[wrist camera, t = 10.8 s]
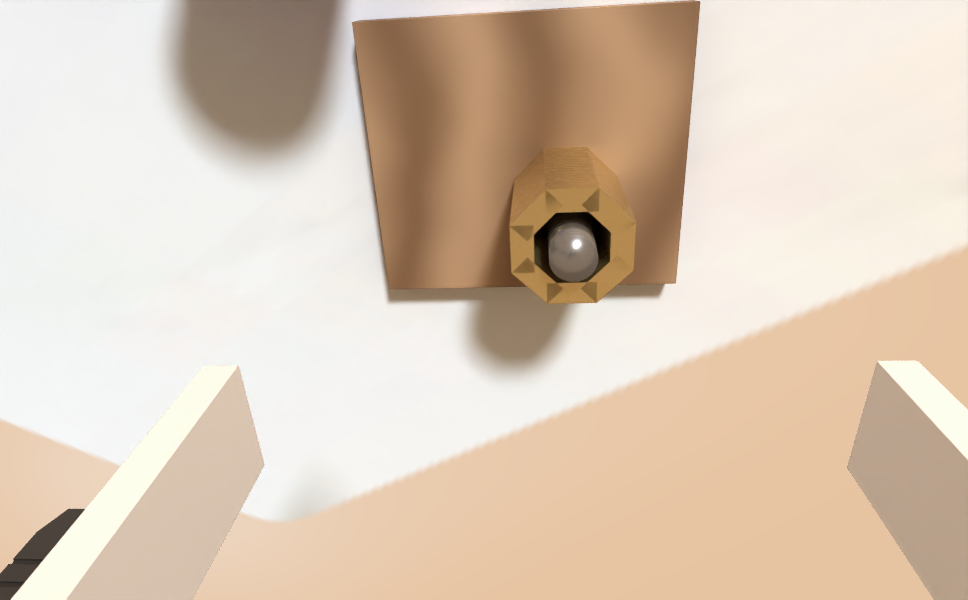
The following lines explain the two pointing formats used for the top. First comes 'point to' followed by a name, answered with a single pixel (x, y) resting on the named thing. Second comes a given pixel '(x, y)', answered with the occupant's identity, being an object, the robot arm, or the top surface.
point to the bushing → (570, 188)
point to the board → (522, 127)
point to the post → (572, 246)
